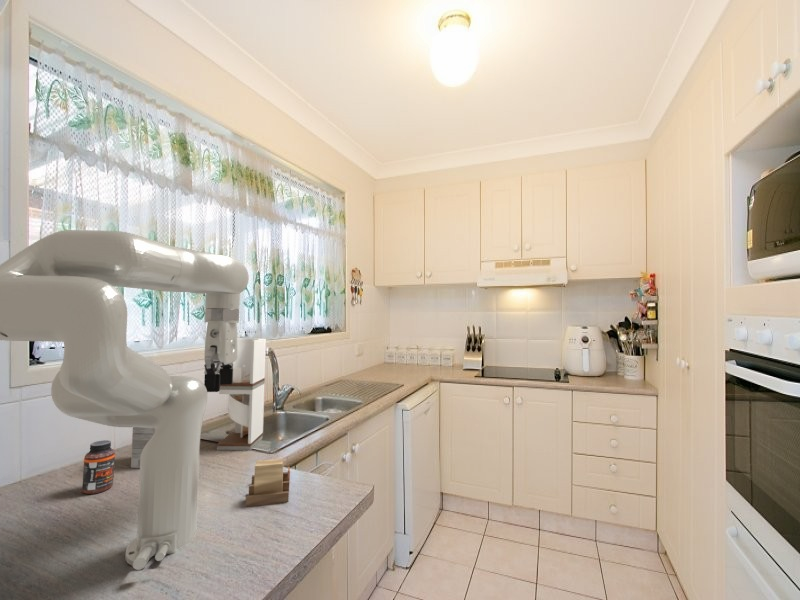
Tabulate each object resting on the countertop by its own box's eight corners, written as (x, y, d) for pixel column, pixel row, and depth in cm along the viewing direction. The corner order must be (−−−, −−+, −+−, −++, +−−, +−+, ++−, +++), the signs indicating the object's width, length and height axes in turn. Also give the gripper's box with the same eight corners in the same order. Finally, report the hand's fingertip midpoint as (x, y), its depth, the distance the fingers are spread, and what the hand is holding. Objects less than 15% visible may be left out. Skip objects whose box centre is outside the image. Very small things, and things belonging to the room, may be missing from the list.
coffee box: (148, 455, 111) (151, 402, 112) (171, 455, 112) (173, 402, 112) (129, 468, 102) (132, 410, 103) (153, 467, 103) (156, 410, 103)
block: (281, 499, 83) (282, 463, 84) (253, 502, 82) (254, 466, 82) (282, 492, 86) (283, 458, 87) (255, 495, 85) (256, 460, 85)
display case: (232, 438, 128) (235, 338, 130) (262, 438, 129) (265, 338, 130) (217, 450, 117) (221, 340, 118) (250, 450, 117) (254, 340, 119)
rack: (288, 508, 82) (288, 483, 83) (245, 513, 80) (246, 488, 80) (289, 485, 93) (290, 463, 94) (251, 489, 91) (252, 467, 91)
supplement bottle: (95, 496, 86) (97, 447, 87) (75, 493, 88) (77, 445, 88) (119, 485, 92) (121, 439, 93) (100, 482, 93) (102, 437, 94)
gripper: (227, 316, 81) (224, 394, 80) (247, 317, 98) (245, 381, 97) (190, 316, 80) (187, 395, 79) (217, 316, 97) (215, 382, 96)
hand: (219, 387), depth 88 cm, fingers open, 9 cm apart
